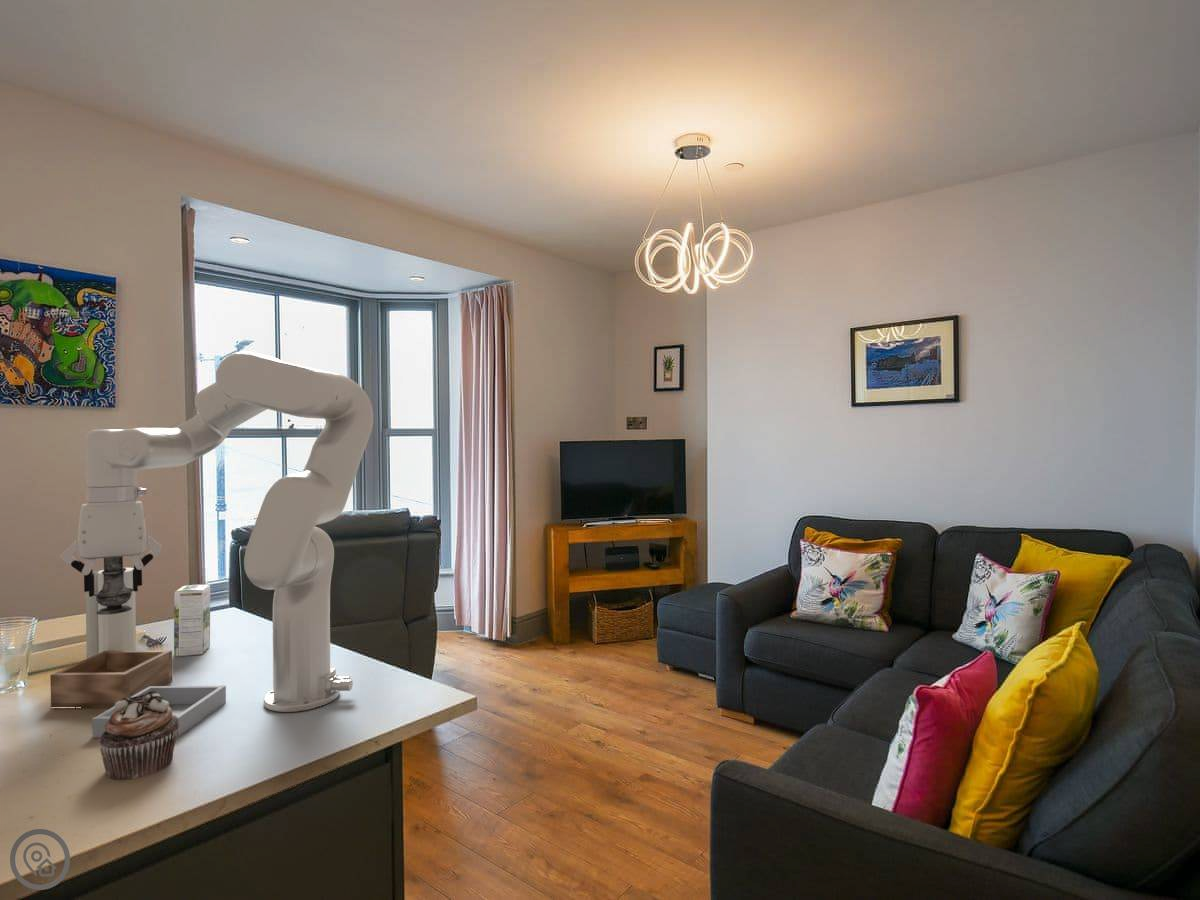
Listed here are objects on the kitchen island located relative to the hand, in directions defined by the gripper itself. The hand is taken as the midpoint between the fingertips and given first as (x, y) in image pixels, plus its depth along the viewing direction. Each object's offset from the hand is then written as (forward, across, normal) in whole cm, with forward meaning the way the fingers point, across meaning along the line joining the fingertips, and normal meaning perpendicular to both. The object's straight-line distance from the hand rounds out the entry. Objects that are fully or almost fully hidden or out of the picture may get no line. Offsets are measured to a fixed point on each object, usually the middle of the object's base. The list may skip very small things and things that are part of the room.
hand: (113, 591), depth 121 cm
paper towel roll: (+19, 0, -12) cm, 23 cm away
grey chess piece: (+4, 0, 0) cm, 4 cm away
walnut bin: (+19, 0, 0) cm, 19 cm away
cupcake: (+19, -3, +35) cm, 40 cm away
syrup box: (+19, -14, -20) cm, 31 cm away
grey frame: (+19, -7, +18) cm, 27 cm away
